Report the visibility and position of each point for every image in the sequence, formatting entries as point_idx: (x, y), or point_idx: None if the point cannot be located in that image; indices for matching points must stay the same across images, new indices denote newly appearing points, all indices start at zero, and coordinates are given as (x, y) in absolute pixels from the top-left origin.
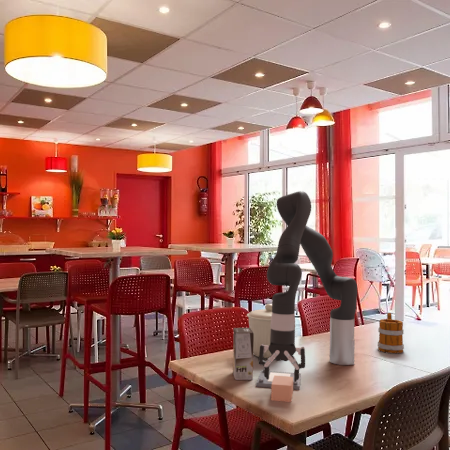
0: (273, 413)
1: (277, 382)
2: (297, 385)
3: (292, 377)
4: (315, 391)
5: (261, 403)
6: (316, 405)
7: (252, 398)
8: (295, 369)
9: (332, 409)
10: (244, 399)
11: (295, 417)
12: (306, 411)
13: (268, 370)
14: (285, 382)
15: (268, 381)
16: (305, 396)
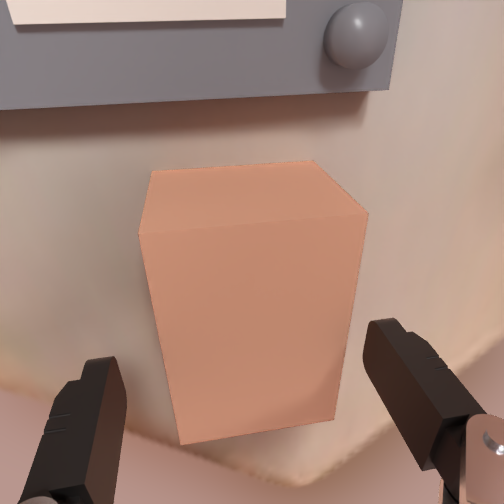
0: (226, 461)
1: (220, 402)
2: (370, 73)
3: (357, 234)
4: (498, 84)
5: (140, 403)
6: (428, 331)
7: (56, 365)
8: (436, 461)
9: (489, 347)
10: (16, 393)
11: (316, 456)
12: (366, 402)
13: (111, 498)
14: (287, 381)
15: (28, 25)
16: (395, 224)
